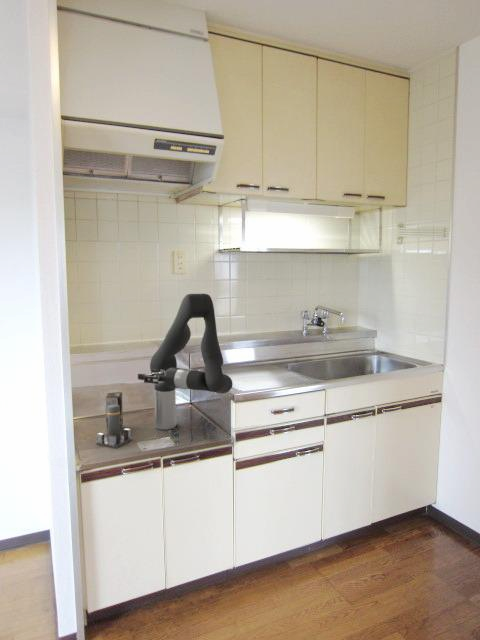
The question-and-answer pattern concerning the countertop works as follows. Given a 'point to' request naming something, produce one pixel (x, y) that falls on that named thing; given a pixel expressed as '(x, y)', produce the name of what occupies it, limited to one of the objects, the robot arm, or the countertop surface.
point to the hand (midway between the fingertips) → (145, 374)
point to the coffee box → (114, 400)
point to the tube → (114, 421)
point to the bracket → (114, 439)
